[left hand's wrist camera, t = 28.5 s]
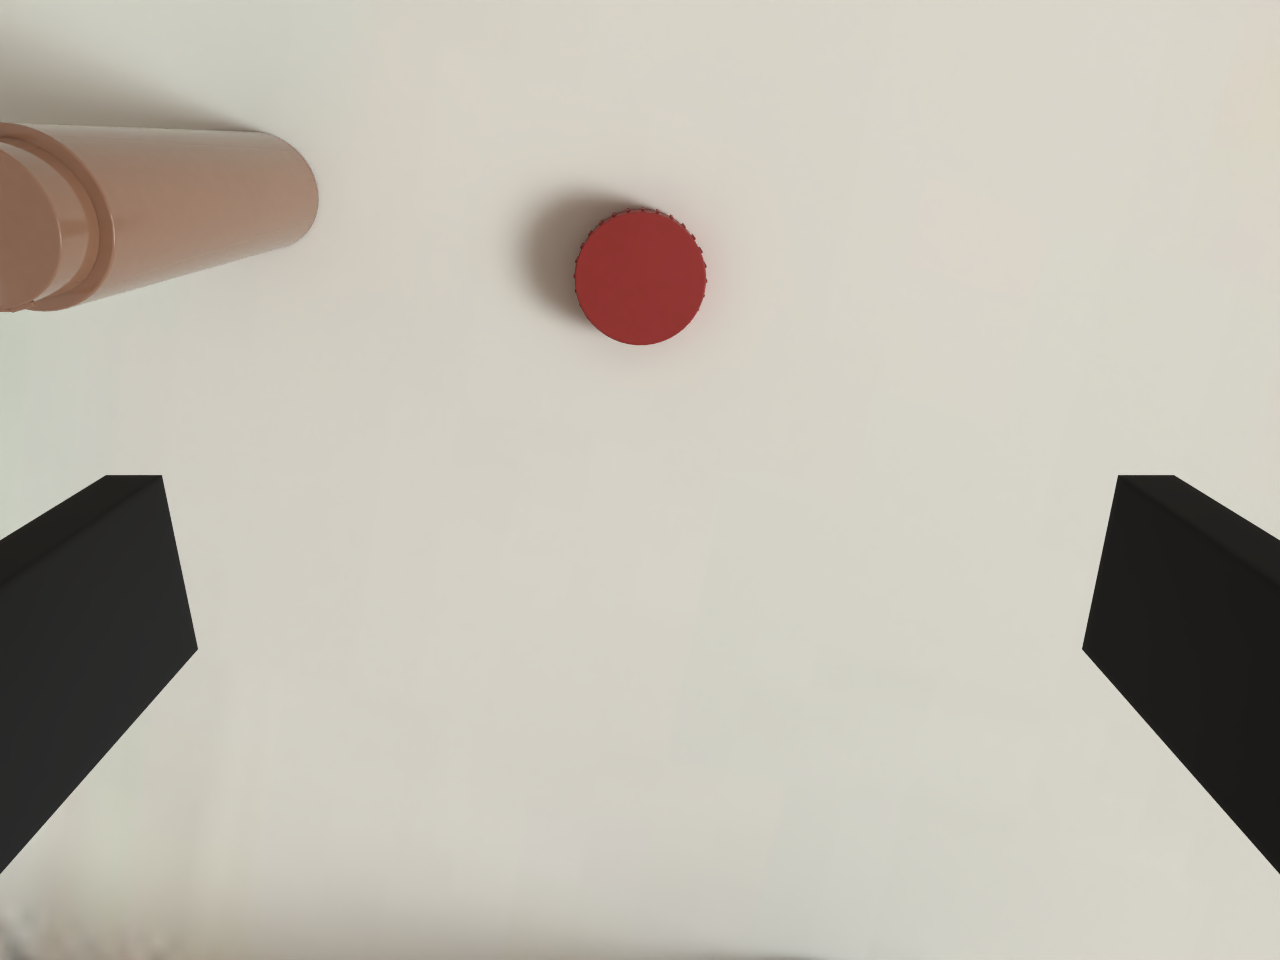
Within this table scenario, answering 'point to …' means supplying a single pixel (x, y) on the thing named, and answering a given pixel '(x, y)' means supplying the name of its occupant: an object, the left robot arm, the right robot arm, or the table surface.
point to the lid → (640, 277)
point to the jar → (138, 207)
